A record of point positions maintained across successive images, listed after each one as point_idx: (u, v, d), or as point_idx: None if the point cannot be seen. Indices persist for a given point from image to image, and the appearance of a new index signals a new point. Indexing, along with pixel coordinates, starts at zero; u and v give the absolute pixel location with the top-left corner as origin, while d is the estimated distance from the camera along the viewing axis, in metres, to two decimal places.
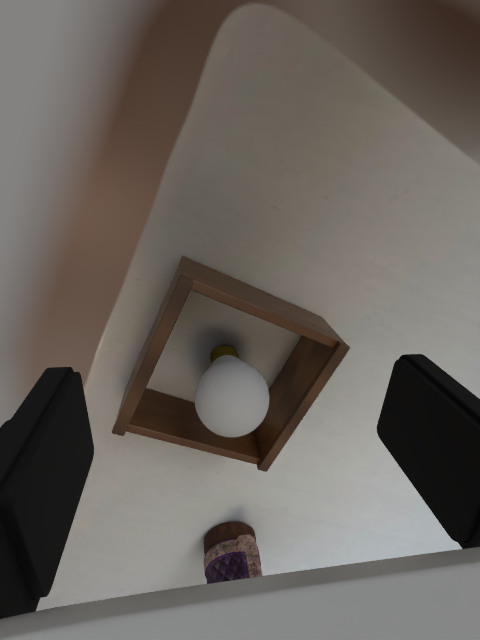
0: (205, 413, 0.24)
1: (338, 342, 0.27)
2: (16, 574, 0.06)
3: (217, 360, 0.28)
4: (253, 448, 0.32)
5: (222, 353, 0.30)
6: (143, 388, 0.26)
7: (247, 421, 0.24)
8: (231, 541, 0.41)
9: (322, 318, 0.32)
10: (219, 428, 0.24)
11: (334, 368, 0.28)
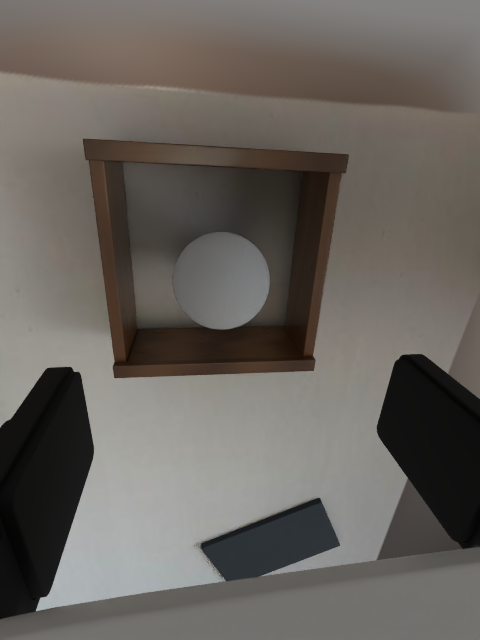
0: (213, 254, 0.18)
1: (313, 357, 0.25)
2: (17, 574, 0.06)
3: None
4: (128, 346, 0.24)
5: None
6: (182, 162, 0.18)
7: (232, 309, 0.18)
8: None
9: None
10: (205, 282, 0.17)
11: (286, 370, 0.25)
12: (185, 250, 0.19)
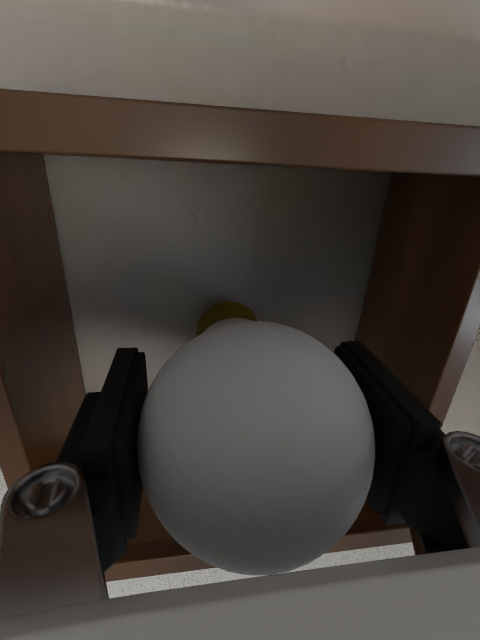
0: (245, 423, 0.06)
1: None
2: (118, 515, 0.07)
3: None
4: None
5: None
6: (156, 152, 0.07)
7: (296, 562, 0.06)
8: None
9: None
10: (222, 509, 0.06)
11: (363, 546, 0.13)
12: (166, 383, 0.07)
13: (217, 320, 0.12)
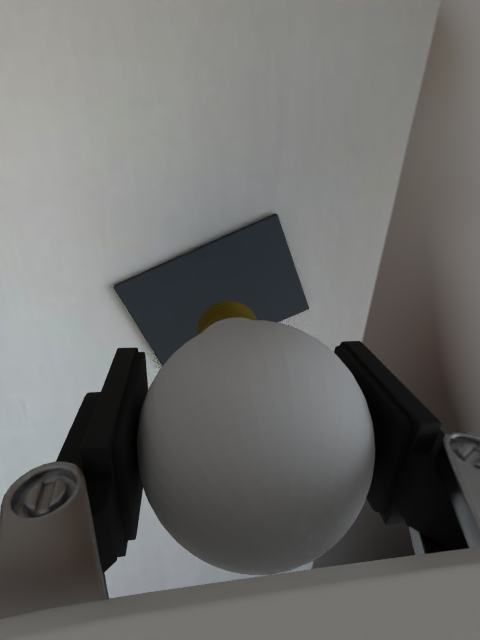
0: (244, 422, 0.06)
1: None
2: (118, 515, 0.07)
3: None
4: None
5: None
6: None
7: (297, 562, 0.06)
8: None
9: None
10: (221, 508, 0.06)
11: None
12: (166, 383, 0.07)
13: (217, 320, 0.12)
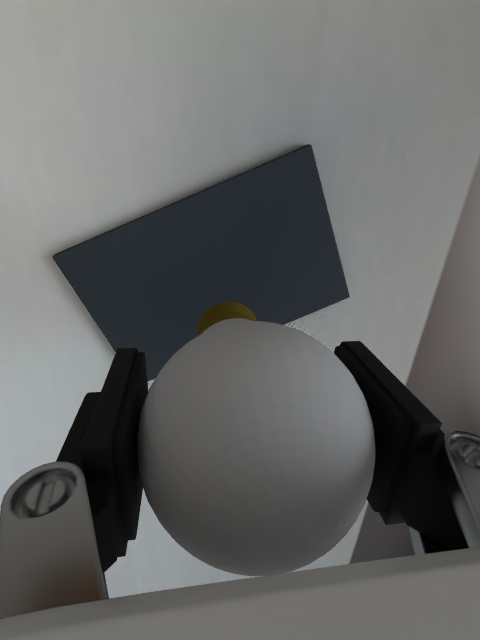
0: (244, 423, 0.06)
1: None
2: (118, 515, 0.07)
3: None
4: None
5: None
6: None
7: (297, 564, 0.06)
8: None
9: None
10: (222, 510, 0.06)
11: None
12: (166, 384, 0.07)
13: (217, 320, 0.12)
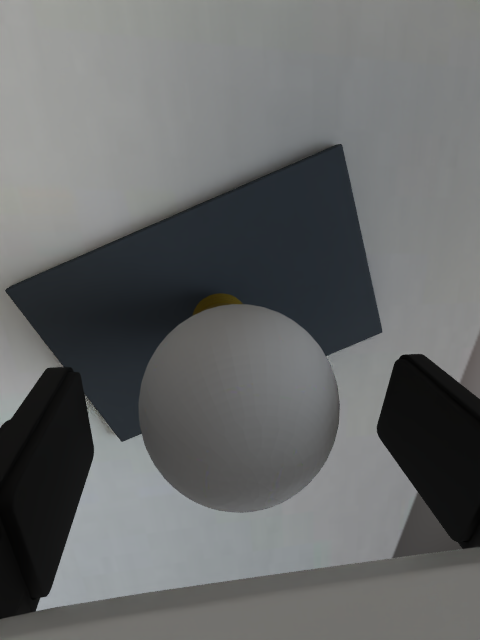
0: (226, 379, 0.07)
1: None
2: (17, 574, 0.06)
3: None
4: None
5: None
6: None
7: (270, 497, 0.08)
8: None
9: None
10: (208, 448, 0.07)
11: None
12: (163, 353, 0.09)
13: (209, 309, 0.14)
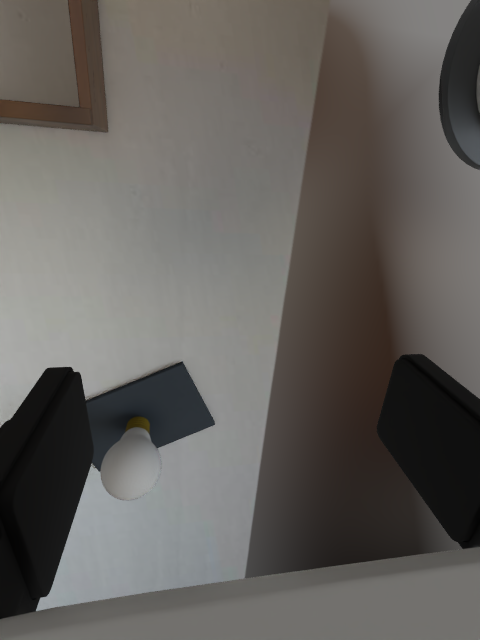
0: (120, 468, 0.31)
1: (89, 109, 0.23)
2: (17, 574, 0.06)
3: (143, 432, 0.36)
4: None
5: (146, 427, 0.38)
6: None
7: (132, 496, 0.32)
8: None
9: (107, 129, 0.28)
10: (115, 485, 0.31)
11: (56, 118, 0.22)
12: (106, 458, 0.32)
13: (130, 427, 0.37)
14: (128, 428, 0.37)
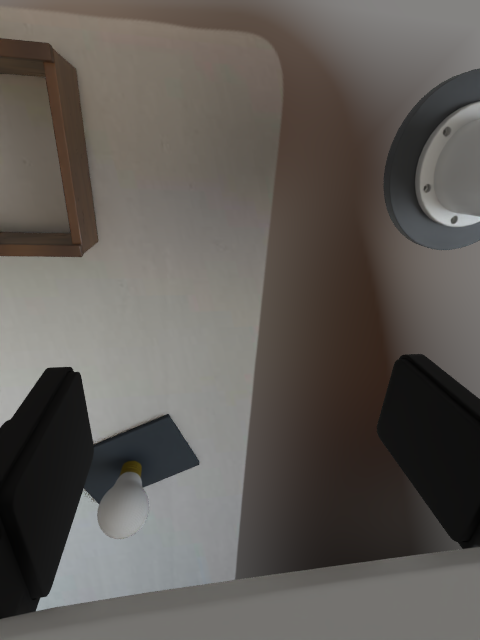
0: (112, 513, 0.37)
1: (80, 244, 0.29)
2: (16, 574, 0.06)
3: (135, 477, 0.43)
4: None
5: (137, 471, 0.44)
6: None
7: (123, 536, 0.38)
8: None
9: (96, 240, 0.34)
10: (108, 527, 0.37)
11: (54, 254, 0.28)
12: (102, 503, 0.39)
13: (124, 472, 0.43)
14: (122, 472, 0.44)
